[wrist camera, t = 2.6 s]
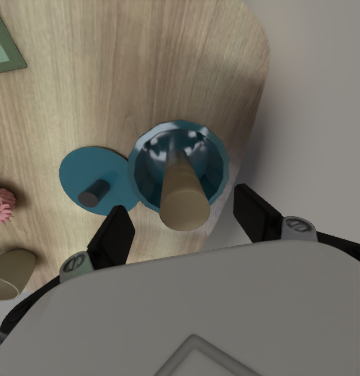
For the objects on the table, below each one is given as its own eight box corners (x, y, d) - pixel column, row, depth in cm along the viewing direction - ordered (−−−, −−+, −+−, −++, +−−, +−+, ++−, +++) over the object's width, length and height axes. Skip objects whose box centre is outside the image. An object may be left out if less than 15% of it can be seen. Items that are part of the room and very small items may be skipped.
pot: (210, 113, 20) (231, 110, 13) (213, 185, 26) (228, 208, 19) (130, 128, 20) (110, 132, 13) (151, 196, 26) (144, 222, 19)
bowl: (50, 249, 31) (20, 282, 25) (45, 271, 35) (17, 304, 29) (-2, 236, 28) (-51, 269, 22) (-2, 261, 32) (-44, 296, 26)
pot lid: (128, 139, 21) (114, 145, 16) (150, 206, 27) (145, 226, 22) (46, 153, 21) (7, 164, 16) (87, 217, 27) (69, 238, 22)
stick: (187, 147, 21) (209, 186, 9) (190, 170, 23) (211, 227, 11) (163, 151, 21) (153, 196, 9) (168, 173, 23) (165, 235, 11)
